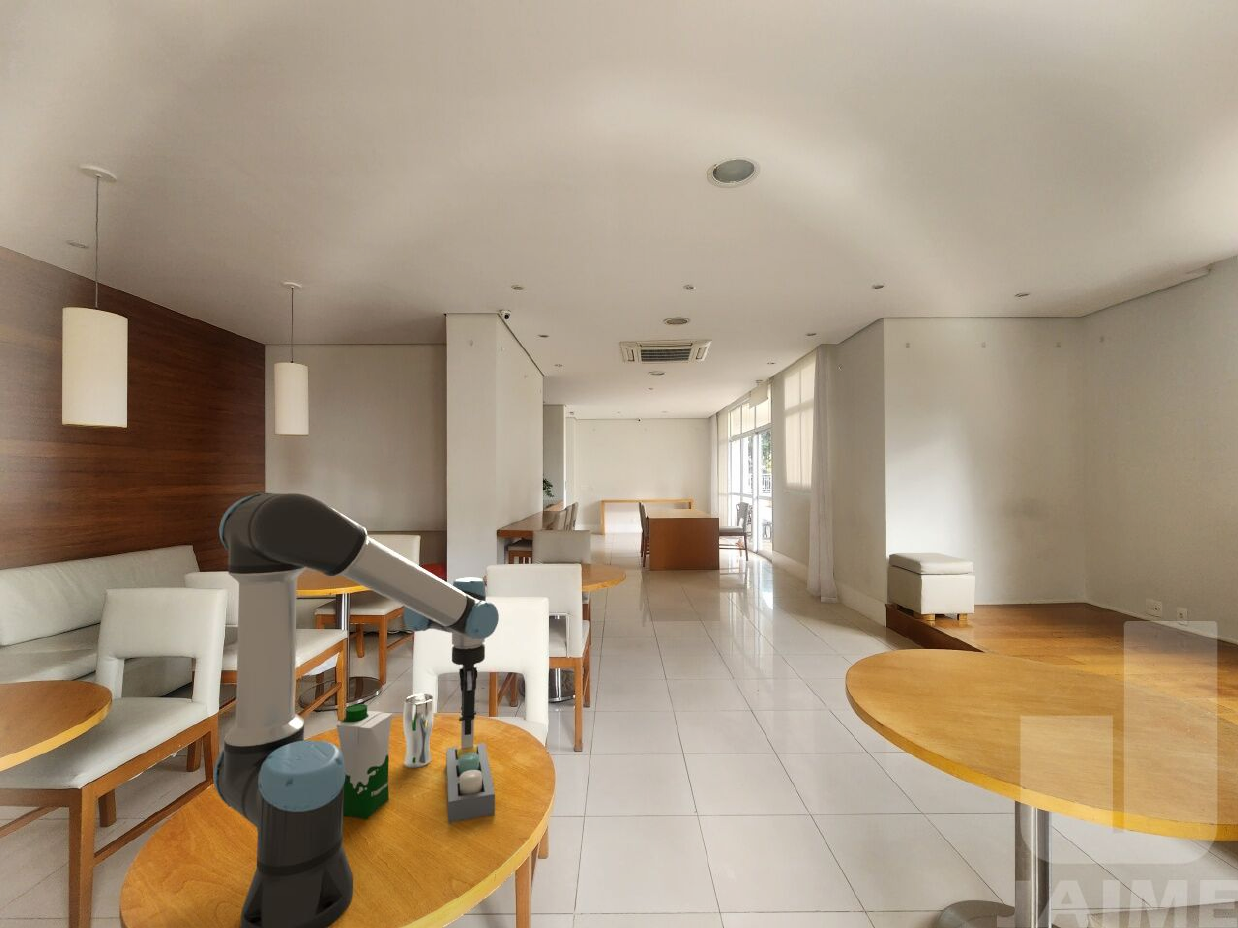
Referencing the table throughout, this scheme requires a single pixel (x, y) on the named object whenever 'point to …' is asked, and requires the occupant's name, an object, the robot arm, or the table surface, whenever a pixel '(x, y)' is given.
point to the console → (470, 803)
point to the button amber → (466, 750)
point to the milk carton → (364, 760)
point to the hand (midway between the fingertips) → (467, 746)
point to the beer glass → (418, 729)
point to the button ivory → (470, 782)
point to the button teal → (468, 762)
